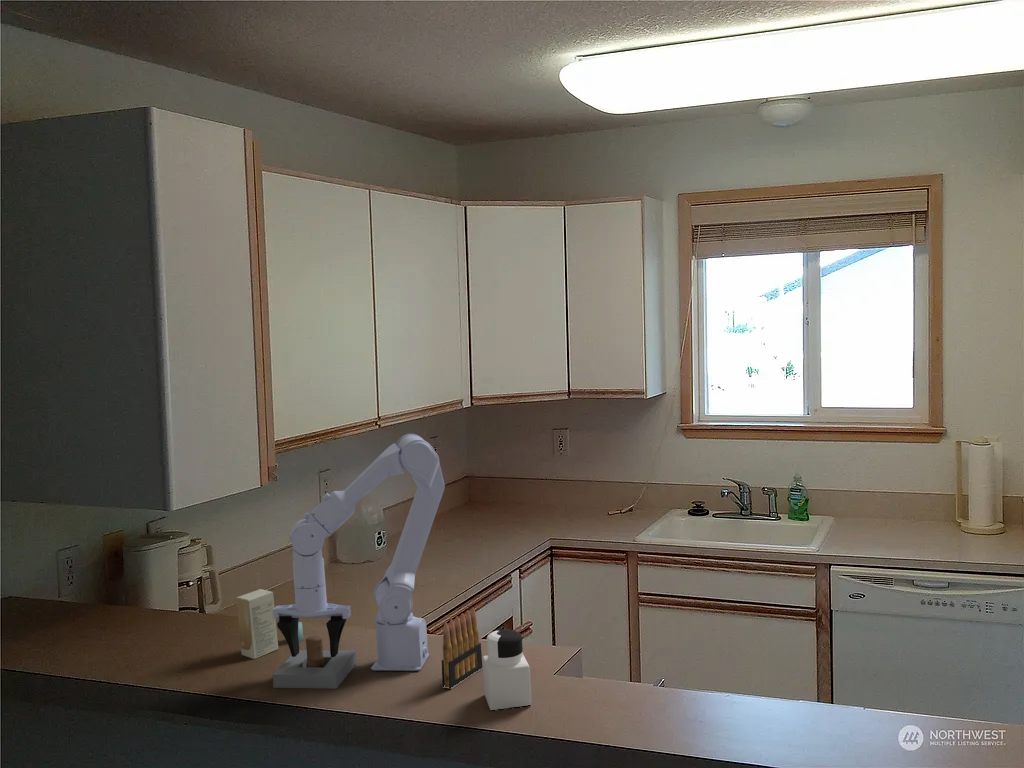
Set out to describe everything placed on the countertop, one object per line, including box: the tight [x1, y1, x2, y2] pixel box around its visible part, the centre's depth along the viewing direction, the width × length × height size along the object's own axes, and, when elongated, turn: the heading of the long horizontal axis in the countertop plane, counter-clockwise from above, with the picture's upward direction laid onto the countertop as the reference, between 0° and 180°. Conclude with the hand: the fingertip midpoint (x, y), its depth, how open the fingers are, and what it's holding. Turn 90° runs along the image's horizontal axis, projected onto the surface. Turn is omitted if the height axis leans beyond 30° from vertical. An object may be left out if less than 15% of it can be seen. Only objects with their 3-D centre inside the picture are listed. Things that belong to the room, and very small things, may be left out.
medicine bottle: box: [482, 628, 532, 711], centre depth 163 cm, size 7×7×12 cm
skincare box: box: [235, 588, 279, 660], centre depth 192 cm, size 6×4×12 cm
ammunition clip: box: [441, 607, 483, 688], centre depth 174 cm, size 11×2×12 cm, turn 149°
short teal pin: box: [298, 621, 304, 643], centre depth 199 cm, size 3×3×4 cm
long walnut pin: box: [305, 635, 324, 668], centre depth 179 cm, size 3×3×7 cm
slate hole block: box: [272, 649, 358, 690], centre depth 179 cm, size 12×12×2 cm
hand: (314, 654), depth 179 cm, fingers open, 7 cm apart
